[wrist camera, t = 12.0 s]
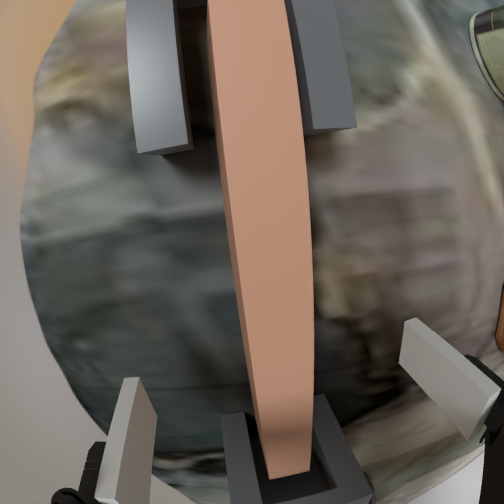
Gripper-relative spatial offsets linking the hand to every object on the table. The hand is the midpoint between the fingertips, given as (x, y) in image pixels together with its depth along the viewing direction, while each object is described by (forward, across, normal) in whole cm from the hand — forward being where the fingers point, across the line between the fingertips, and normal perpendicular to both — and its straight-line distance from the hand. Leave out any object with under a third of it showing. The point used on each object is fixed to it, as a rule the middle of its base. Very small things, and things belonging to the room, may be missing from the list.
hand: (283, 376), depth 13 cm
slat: (+8, 0, -3) cm, 8 cm away
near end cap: (+7, 0, -16) cm, 18 cm away
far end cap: (+8, 0, +13) cm, 15 cm away
